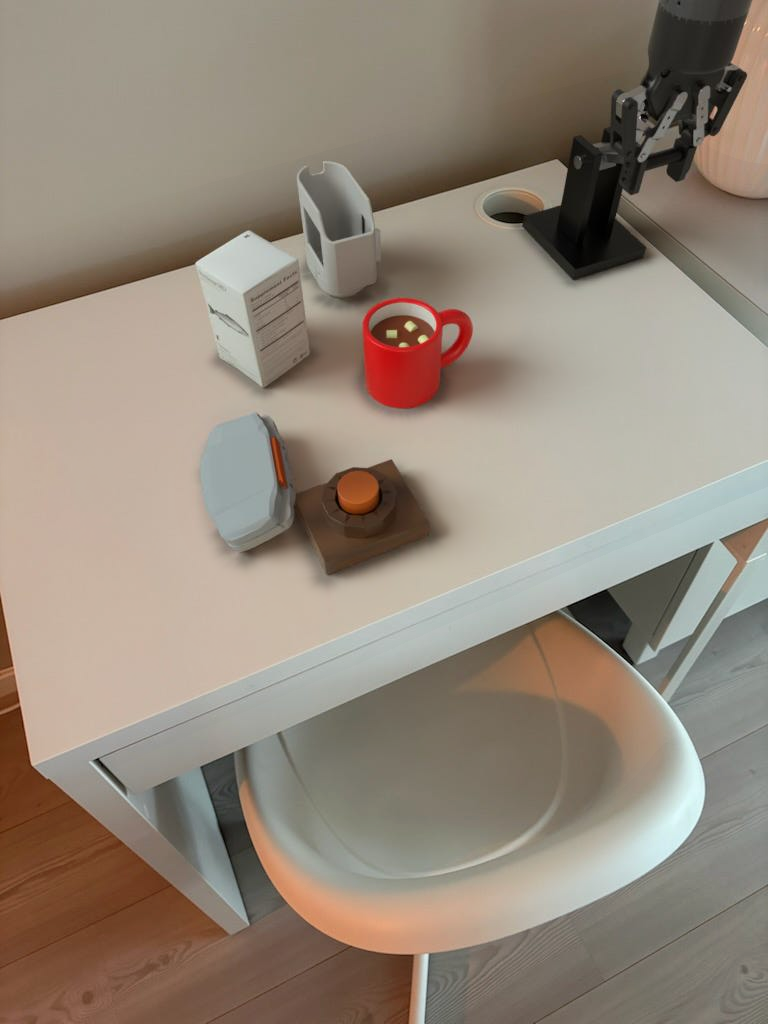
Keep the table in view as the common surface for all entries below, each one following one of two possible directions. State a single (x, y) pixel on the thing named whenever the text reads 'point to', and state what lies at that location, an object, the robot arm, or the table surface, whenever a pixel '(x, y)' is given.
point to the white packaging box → (255, 306)
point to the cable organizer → (338, 230)
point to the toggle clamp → (586, 217)
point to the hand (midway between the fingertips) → (652, 183)
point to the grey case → (247, 481)
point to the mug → (409, 350)
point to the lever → (652, 160)
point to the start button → (358, 492)
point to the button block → (360, 519)
